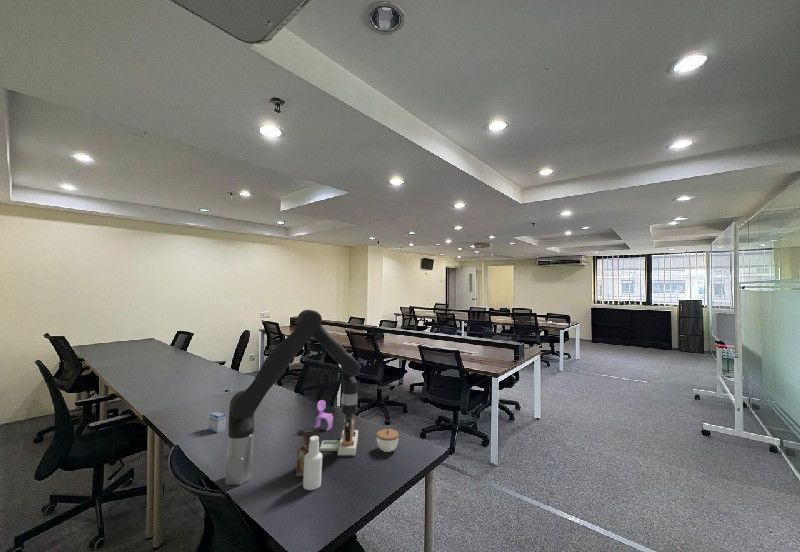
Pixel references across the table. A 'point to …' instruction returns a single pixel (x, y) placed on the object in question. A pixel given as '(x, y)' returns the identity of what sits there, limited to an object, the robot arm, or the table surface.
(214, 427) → the medicine box
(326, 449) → the tray
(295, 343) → the robot arm
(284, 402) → the table surface
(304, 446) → the coffee box
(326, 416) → the toy chair
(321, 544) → the table surface
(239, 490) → the table surface
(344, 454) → the white slotted holder
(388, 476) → the table surface
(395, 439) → the lidded jar
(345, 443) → the plug
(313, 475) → the white bottle
